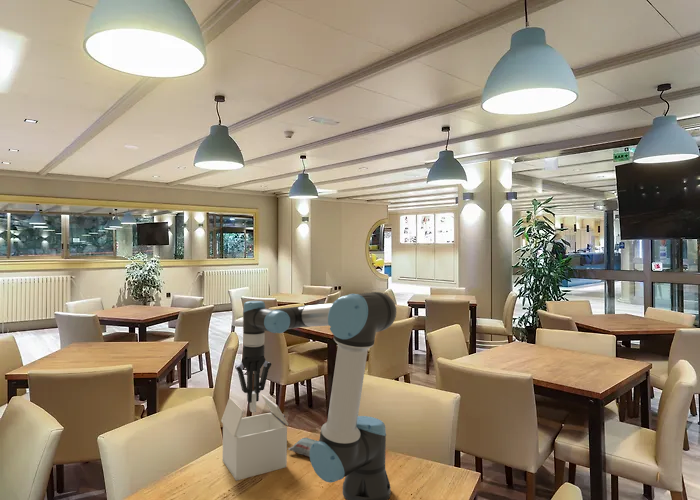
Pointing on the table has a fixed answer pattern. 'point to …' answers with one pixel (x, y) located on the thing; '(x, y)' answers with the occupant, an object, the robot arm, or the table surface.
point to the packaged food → (303, 446)
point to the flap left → (232, 417)
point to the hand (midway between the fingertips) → (252, 410)
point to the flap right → (274, 409)
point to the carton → (255, 446)
